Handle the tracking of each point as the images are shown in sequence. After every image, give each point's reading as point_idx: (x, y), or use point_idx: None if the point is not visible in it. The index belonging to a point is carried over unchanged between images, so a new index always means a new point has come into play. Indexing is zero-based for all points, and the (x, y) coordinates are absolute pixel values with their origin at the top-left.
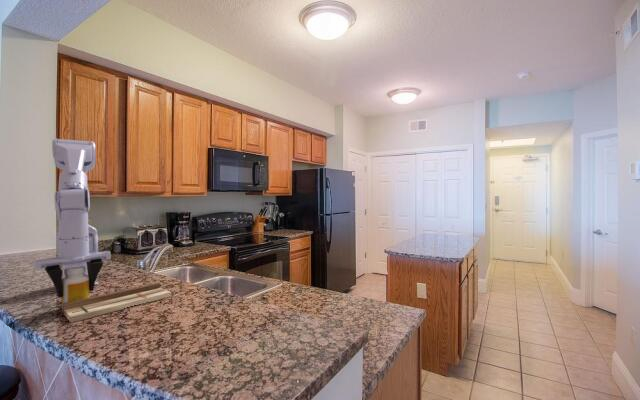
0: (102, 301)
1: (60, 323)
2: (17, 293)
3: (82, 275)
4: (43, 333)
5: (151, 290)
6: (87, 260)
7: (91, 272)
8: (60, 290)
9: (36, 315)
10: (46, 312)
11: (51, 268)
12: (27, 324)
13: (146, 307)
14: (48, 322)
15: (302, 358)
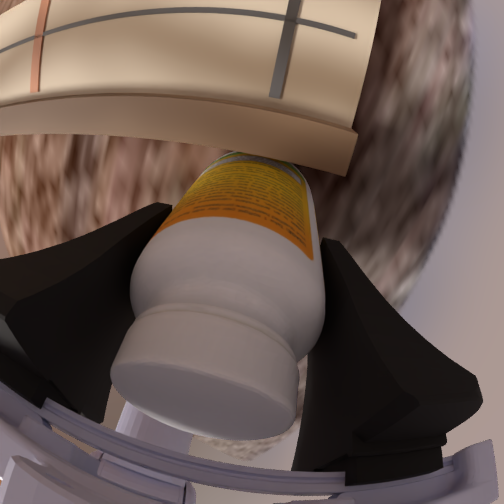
0: (163, 88)
1: (403, 33)
2: None
3: (169, 291)
4: (470, 8)
5: (4, 93)
6: (63, 423)
7: (88, 273)
8: (344, 261)
9: (386, 249)
10: (351, 250)
11: (415, 450)
12: (456, 171)
13: None
14: (421, 103)
15: None
